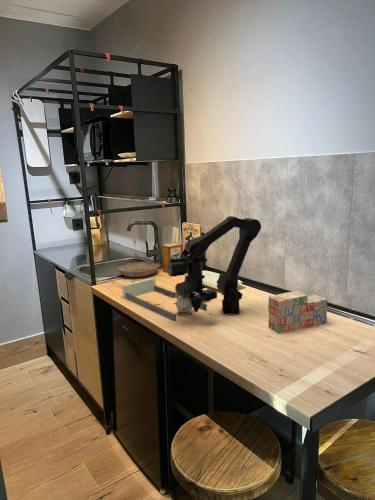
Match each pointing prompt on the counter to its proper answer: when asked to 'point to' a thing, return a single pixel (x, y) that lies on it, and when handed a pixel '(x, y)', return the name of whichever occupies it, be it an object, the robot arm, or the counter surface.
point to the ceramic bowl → (138, 269)
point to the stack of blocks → (295, 311)
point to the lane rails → (156, 308)
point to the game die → (183, 304)
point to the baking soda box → (170, 253)
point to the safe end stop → (139, 287)
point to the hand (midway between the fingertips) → (196, 311)
